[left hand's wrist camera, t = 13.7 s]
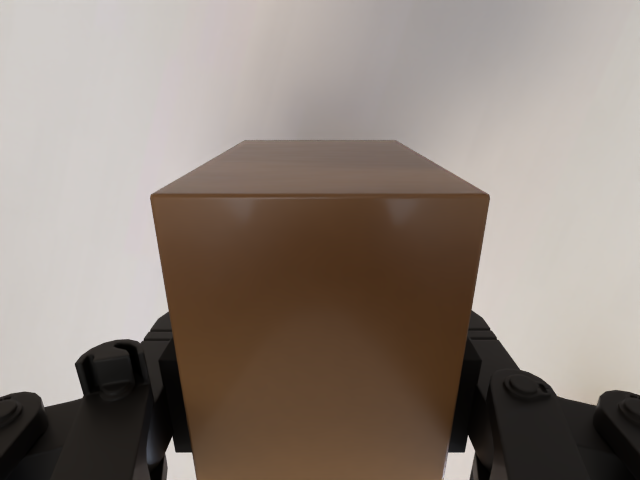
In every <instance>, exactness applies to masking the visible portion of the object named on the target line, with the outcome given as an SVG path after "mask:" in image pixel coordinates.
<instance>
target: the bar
mask: <svg viewBox="0 0 640 480" xmlns="http://www.w3.org/2000/svg"><path fill="white" fill-rule="evenodd" d="M150 200H151V206H152V212H153V218H154V224H155V230H156V236H157V242H158V248H159V254H160V260H161V266H162V273H163V279H164V285H165V291H166V297H167V303H168V309H169V315H170V321H171V327H172V333H173V339H174V345H175V351H176V357H177V363H178V369H179V375H180V382H181V388H182V394H183V400H184V406H185V412H186V418H187V424H188V430H189V436H190V442H191V448H192V454H193V460H194V466H195V472H196V478H197V480H443V479H444V473H445V467H446V461H447V455H448V449H449V443H450V437H451V431H452V425H453V419H454V413H455V406H456V400H457V394H458V388H459V382H460V376H461V370H462V364H463V358H464V352H465V346H466V340H467V334H468V328H469V322H470V316H471V309H472V303H473V297H474V291H475V285H476V279H477V273H478V267H479V261H480V255H481V249H482V243H483V237H484V231H485V225H486V219H487V212H488V206H489V200H490V196H489V194H487V193H486V192H484V191H482V190H480V189H479V188H477V187H475V186H473V185H472V184H470V183H468V182H467V181H465V180H463V179H461V178H460V177H458V176H456V175H455V174H453V173H451V172H449V171H448V170H446V169H444V168H442V167H441V166H439V165H437V164H436V163H434V162H432V161H430V160H429V159H427V158H425V157H423V156H422V155H420V154H418V153H417V152H415V151H413V150H411V149H410V148H408V147H406V146H405V145H403V144H401V143H399V142H398V141H396V140H245V141H243V142H241V143H239V144H238V145H236V146H234V147H232V148H231V149H229V150H227V151H225V152H224V153H222V154H220V155H219V156H217V157H215V158H213V159H212V160H210V161H208V162H206V163H205V164H203V165H201V166H200V167H198V168H196V169H194V170H193V171H191V172H189V173H187V174H186V175H184V176H182V177H180V178H179V179H177V180H175V181H174V182H172V183H170V184H168V185H167V186H165V187H163V188H161V189H160V190H158V191H156V192H155V193H153V194H151V197H150Z"/></svg>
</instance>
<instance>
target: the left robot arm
mask: <svg viewBox="0 0 640 480" xmlns="http://www.w3.org/2000/svg"><path fill="white" fill-rule="evenodd" d="M75 367H76V370H77V374H78V377H79V380H80V384H81V387H82V391H83V394H84V396H83V398H81V399H78V400H74V401H70V402H66V403H61V404H57V405H52V406H48V407H44V405H43V402H42V399H41V397H39V396H38V395H37V394H36V393H31V392H19V393H12V394H9V395H6V396H3V397H0V480H166V479H167V469H168V467H167V460H166V455H165V452H166V450H167V447H168V445H169V443H170V440H171V438H172V436H173V441H174V446H175V452H192V448H191V442H190V436H189V430H188V424H187V418H186V412H185V406H184V400H183V394H182V388H181V382H180V375H179V369H178V363H177V357H176V351H175V345H174V339H173V333H172V327H171V321H170V315H169V312H167V313H166V314H165V315H163V316H162V317H160V318H159V319H158V320H157V321H156V323H155V324H154V325H153V327H152V328H151V330H150V332H148V334H147V335H146V336H145V338H144V341H142V342H141V343H139V342H138V341H134V340H129V339H124V340H114V341H110V342H106V343H103V344H101V345H98V346H96V347H94V348H92V349H90V350H89V351H87V352H86V353H84V354H83V355H82V356H81V357H80V358H79V359H78V360H77V362H76V363H75ZM468 435H469V438H470V440H471V442H472V445H473V447H474V449H475V455H474V460H473V465H472V470H471V475H470V480H640V395H637V394H634V393H631V392H625V391H619V390H613V391H606V392H605V393H603V394H602V395H601V396H600V398H599V401H598V403H597V406H595V405H590V404H586V403H582V402H577V401H573V400H568V399H564V398H561V397H558V396H557V395H556V394H555V392H554V391H553V389H552V388H551V386H550V385H548V384H547V383H546V382H545V381H543V380H542V379H541V378H539V377H537V376H535V375H533V374H531V373H529V372H526V371H522V370H520V369H519V368H518V366H517V365H516V363H515V362H514V361H513V359H512V358H511V356H510V355H509V354H508V352H507V351H506V350H505V348H504V347H503V345H502V344H501V343H500V341H499V340H497V337H496V336H495V334H494V333H493V332H492V331H490V328H489V326H488V325H487V323H486V322H485V321H484V319H483V318H482V317H481V316H479V315H478V314H476V313H475V312H473V311H472V310H471V316H470V322H469V328H468V334H467V340H466V346H465V352H464V358H463V364H462V370H461V376H460V382H459V388H458V394H457V400H456V406H455V413H454V419H453V425H452V431H451V437H450V443H449V449H448V452H465V448H466V443H467V437H468Z"/></svg>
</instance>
